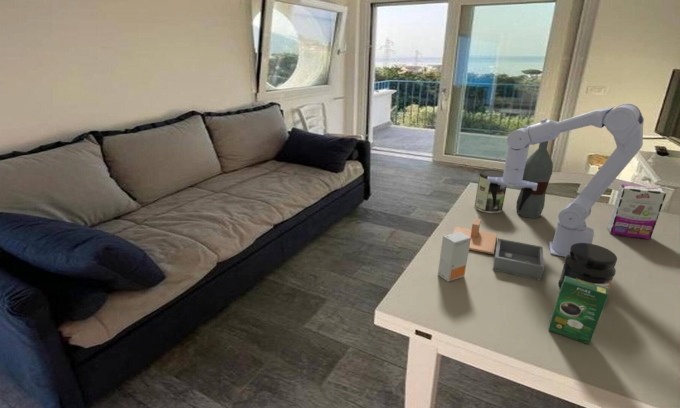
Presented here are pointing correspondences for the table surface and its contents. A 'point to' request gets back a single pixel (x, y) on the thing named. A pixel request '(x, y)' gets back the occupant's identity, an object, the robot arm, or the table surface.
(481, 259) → the table surface
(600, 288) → the coffee box
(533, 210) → the bottle
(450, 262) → the skincare box
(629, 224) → the candy bar box
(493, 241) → the lid
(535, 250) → the tub
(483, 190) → the coffee can
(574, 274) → the supplement container
